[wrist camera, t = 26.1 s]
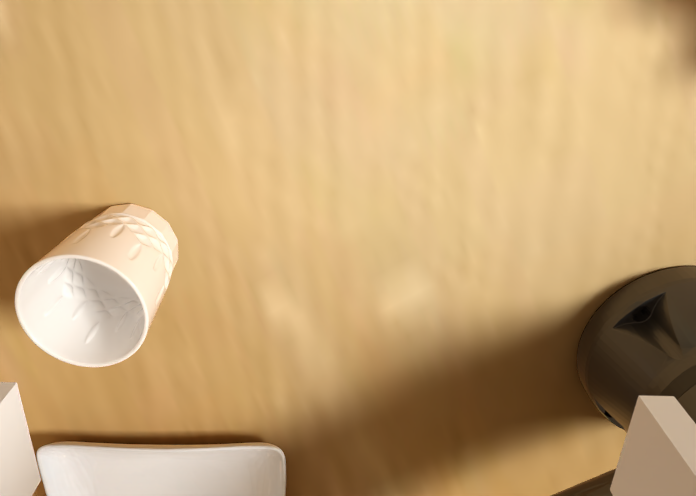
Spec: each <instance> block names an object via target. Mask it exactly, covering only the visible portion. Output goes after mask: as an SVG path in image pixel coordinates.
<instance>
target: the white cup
mask: <svg viewBox="0 0 696 496" xmlns="http://www.w3.org/2000/svg"><path fill="white" fill-rule="evenodd" d="M177 261H178V239H177V238H176V236H175V234H174V232H173V230H172V228H171V226H170V224H169V223H168V222H167V221H166V220H165V219H163V218H162V217H161V216H160V215H158V214H157V213H156V212H155V211H153V210H152V209H148V208H145V207H142V206H138V205H135V204H124V205H115V206H111V207H109V208H108V209H106V210H105V211H103V212H102V213H100V214H99V215H97V216H96V217H94V218H93V219H92V220H91V221H88V222H86V223H85V224H84V225H82V226H81V227H80V228H78V229H77V230H76V231H74V232H73V233H72V234H70V235H69V236H68V237H67V238H65V239H64V240H63V241H62V242H61V243H59V244H58V245H57V246H56V247H55V248H53V249H52V250H51V251H50V252H49V253H47V254H46V255H45V256H44V257H42V258H41V259H40V260H39V261H38V262H36V263H35V264H34V265H33V266H31V267H30V268H29V269H28V270H27V271H26V272H25V273H24V274H23V276H22V277H21V279H20V281H19V283H18V285H17V288H16V292H15V310H16V314H17V317H18V320H19V322H20V324H21V326H22V328H23V330H24V331H25V333H26V334H27V335H28V337H29V338H30V339H31V340H32V341H33V342H34V343H35V344H36V345H37V346H38V347H39V348H41V349H42V350H43V351H45V352H46V353H48V354H49V355H51V356H53V357H55V358H57V359H59V360H61V361H64V362H66V363H69V364H73V365H77V366H83V367H104V366H109V365H113V364H116V363H119V362H121V361H123V360H125V359H127V358H128V357H130V356H131V355H132V354H134V353H135V352H136V351H137V350H138V349H139V347H140V346H141V345H142V343H143V341H144V339H145V337H146V335H147V332H148V330H149V328H150V326H151V323H152V321H153V319H154V317H155V315H156V312H157V310H158V308H159V306H160V304H161V301H162V299H163V297H164V295H165V292H166V289H167V287H168V284H169V282H170V278H171V273H172V271H173V269H174V267H175V265H176V263H177Z"/></svg>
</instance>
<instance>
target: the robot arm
mask: <svg viewBox="0 0 696 496" xmlns="http://www.w3.org/2000/svg"><path fill="white" fill-rule="evenodd" d="M577 369H578V374H579V378H580V380H581V383H582V385H583V387H584V388H585V390H586V392H587V394H588V395H589V397H590V399H591V400H592V402H593V403H594V405H595V406H596V408H597V409H598V410H599V411H600V412H601V413H602V414H603V416H605V417H606V418H607V419H608V420H609V421H611V422H612V423H613V424H615V425H616V426H618V427H620V428H622V429H624V430H625V431H626V432H627V435H626V438H625V442H624V445H623V448H622V451H621V455H620V458H619V461H618V464H617V468H616V469H614V470H611V471H609V472H606V473H604V474H601V475H599V476H597V477H594V478H592V479H589V480H587V481H585V482H582V483H580V484H577V485H575V486H573V487H570V488H568V489H565V490H563V491H561V492H558V493H556V494H553V495H551V496H696V266H684V267H675V268H669V269H665V270H661V271H657V272H654V273H651V274H649V275H646V276H644V277H641V278H639V279H637V280H635V281H633V282H631V283H630V284H628V285H626V286H625V287H623V288H622V289H620V290H619V291H617V292H616V293H615V294H613V295H612V296H611V297H610V298H609V299H608V300H606V301H605V302H604V303H603V304H602V305H601V307H600V308H599V309H598V310H597V311H596V312H595V314H594V315H593V316H592V318H591V319H590V321H589V322H588V324H587V326H586V328H585V330H584V332H583V334H582V337H581V339H580V343H579V346H578V352H577ZM40 481H41V478H40V474H39V470H38V466H37V462H36V458H35V454H34V450H33V446H32V442H31V438H30V434H29V430H28V426H27V422H26V418H25V414H24V410H23V406H22V402H21V398H20V394H19V390H18V386H17V382H0V496H32V495H33V493H34V492H35V490H36V488H37V486H38V485H39V483H40Z"/></svg>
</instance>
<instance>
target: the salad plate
mask: <svg viewBox="0 0 696 496" xmlns="http://www.w3.org/2000/svg"><path fill="white" fill-rule="evenodd" d="M36 457H37V462H38V467H39V470H40V474H41V478H42V482H43V485H44V488H45V492H46V495H47V496H285V495H286V460H285V455H284V452H283V451H282V450H281V449H280V448H279V447H277V446H275V445H273V444H270V443H263V442H255V443H232V444H206V445H147V444H113V443H93V442H74V441H65V442H55V443H50V444H47V445H44V446H41V447H40V448H39V449H38V450H37V453H36Z"/></svg>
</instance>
